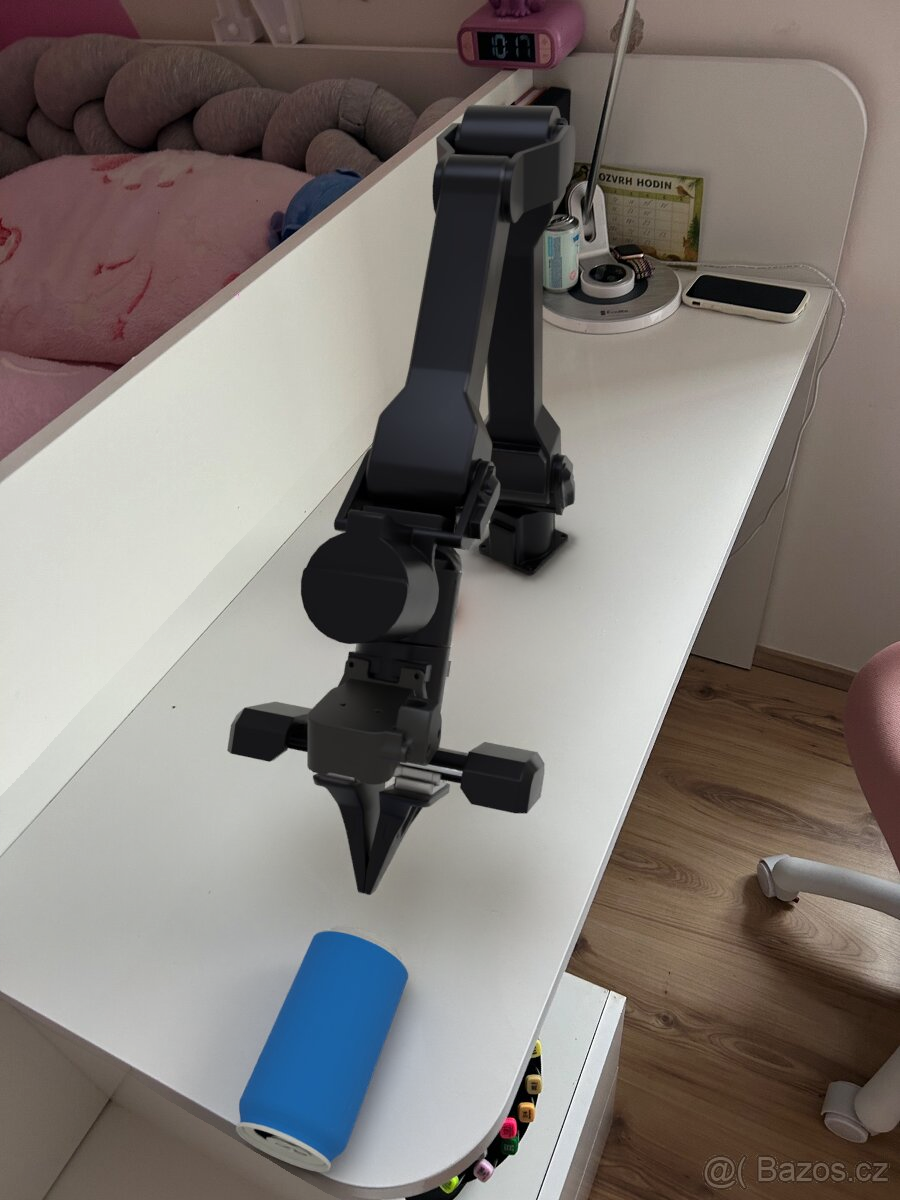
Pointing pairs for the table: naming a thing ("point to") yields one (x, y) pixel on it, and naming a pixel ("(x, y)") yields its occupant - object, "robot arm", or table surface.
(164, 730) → the table surface
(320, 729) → the robot arm
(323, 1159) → the beverage can
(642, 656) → the table surface
